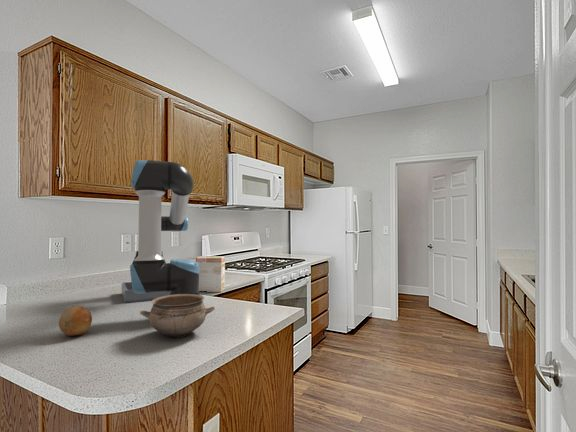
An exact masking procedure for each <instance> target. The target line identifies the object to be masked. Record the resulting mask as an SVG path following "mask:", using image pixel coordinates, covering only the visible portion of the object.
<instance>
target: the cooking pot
mask: <svg viewBox="0 0 576 432" xmlns="http://www.w3.org/2000/svg"><path fill="white" fill-rule="evenodd" d="M204 300H205V297H204V296H202V295H201V294H199V295H195V294H175V295H167V296H162V297H158V298H155V299H153V300H152V301H151V303H152V307H151V309H150V311H146V310H143V309H142V310H140V311H139V313H140V315H141V316H142V317H145V318H147V319H148V320H149V323H150V325H151V326H152V328H153V329H154V330H155V331H157V332H159V333H160V334H162V335H165V336H167V337H170V338H181V337H182V336H183V337H185V336H188V335H189V334H190V333H192V332H194V331H195V330H196V329H198V328H200V327H201V325H203V324H204V322H205V320H206V316H207V315H208V314H210V313H212V312H213V311H215V306H211V307H206V306H205V303H204ZM187 334H188V335H187Z"/></svg>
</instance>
